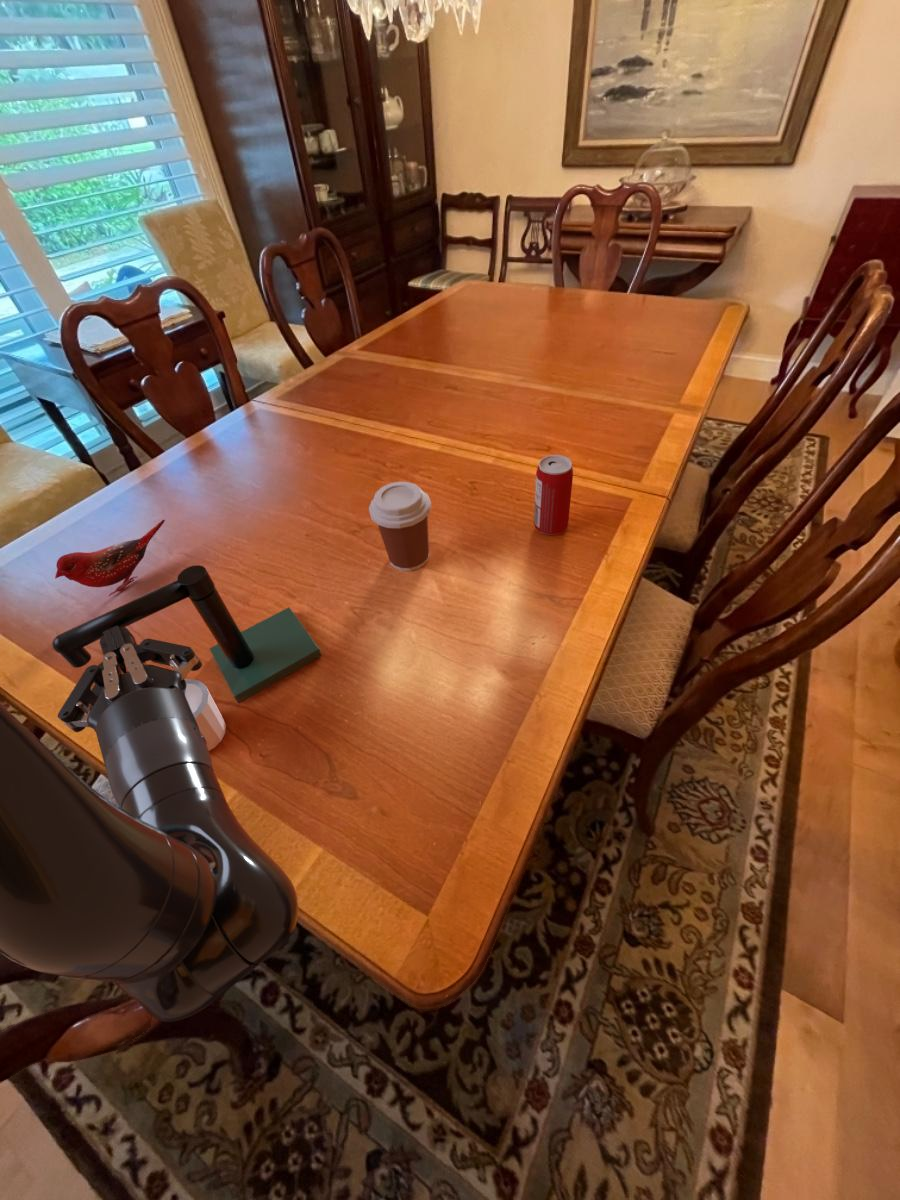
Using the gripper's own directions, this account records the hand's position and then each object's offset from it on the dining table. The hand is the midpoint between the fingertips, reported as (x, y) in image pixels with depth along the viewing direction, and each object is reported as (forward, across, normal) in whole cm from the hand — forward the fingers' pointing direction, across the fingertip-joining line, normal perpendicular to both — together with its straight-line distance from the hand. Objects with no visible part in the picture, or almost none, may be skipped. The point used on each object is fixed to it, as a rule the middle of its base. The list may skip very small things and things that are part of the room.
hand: (114, 633), depth 56 cm
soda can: (-3, -60, +16) cm, 63 cm away
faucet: (+2, -12, +16) cm, 20 cm away
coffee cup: (+6, -38, +16) cm, 42 cm away
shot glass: (-5, -1, +16) cm, 17 cm away
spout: (+2, -3, +3) cm, 4 cm away
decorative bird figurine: (+31, -1, +16) cm, 35 cm away
